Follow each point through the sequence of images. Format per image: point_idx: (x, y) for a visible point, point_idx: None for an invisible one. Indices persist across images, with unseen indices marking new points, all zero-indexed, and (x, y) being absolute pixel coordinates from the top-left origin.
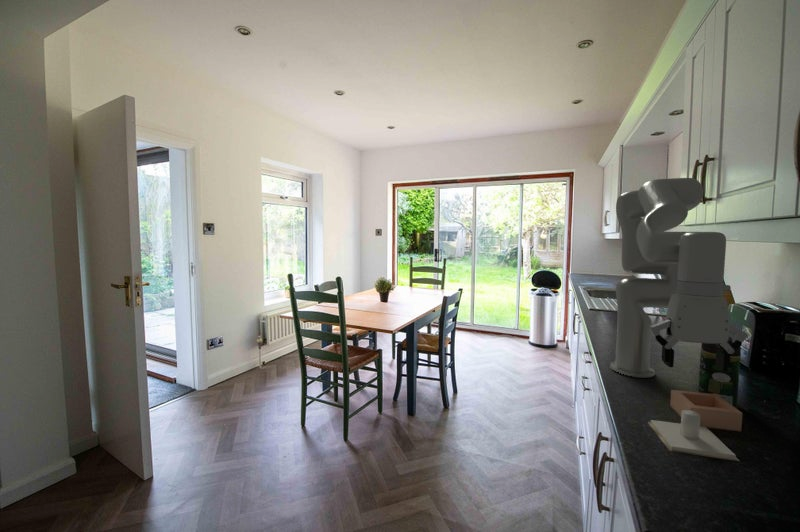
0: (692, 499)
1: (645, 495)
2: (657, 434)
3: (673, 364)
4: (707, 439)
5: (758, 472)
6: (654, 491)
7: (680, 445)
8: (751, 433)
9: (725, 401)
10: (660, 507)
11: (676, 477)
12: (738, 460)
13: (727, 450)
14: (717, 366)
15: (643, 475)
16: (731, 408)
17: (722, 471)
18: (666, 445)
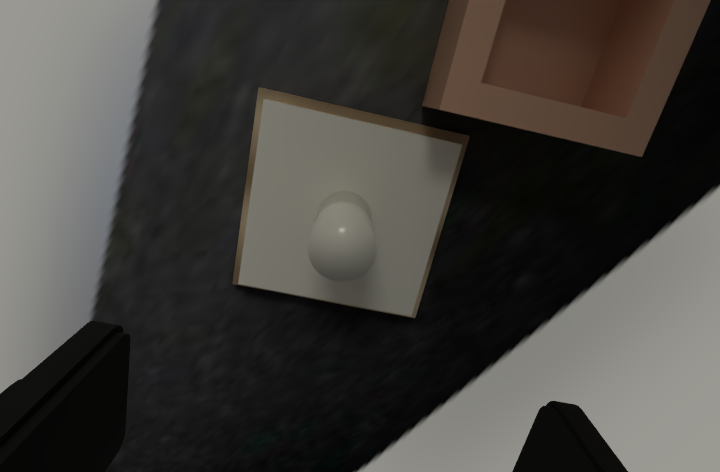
0: (187, 438)
1: None
2: (246, 188)
3: (109, 464)
4: (393, 236)
5: (432, 343)
6: None
7: (271, 277)
8: None
9: (694, 20)
10: None
11: (193, 376)
12: (412, 316)
13: (407, 294)
14: (536, 442)
15: None
16: (639, 109)
17: (335, 346)
18: (239, 256)
